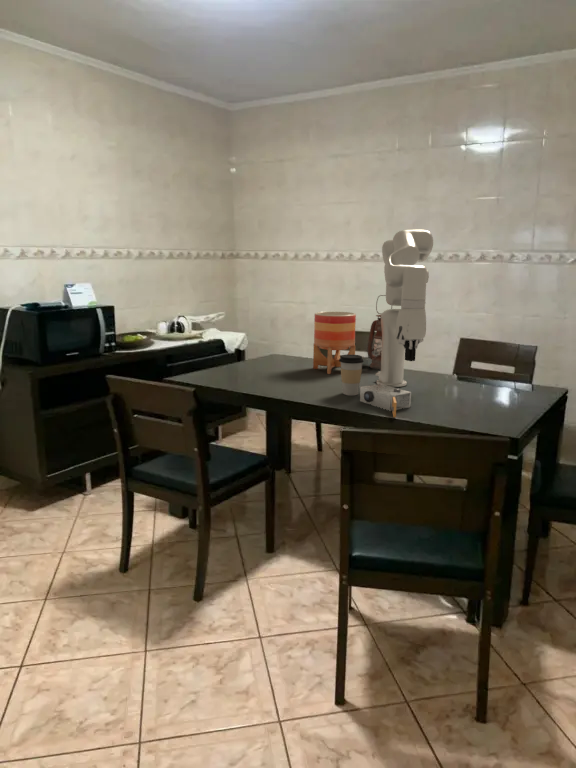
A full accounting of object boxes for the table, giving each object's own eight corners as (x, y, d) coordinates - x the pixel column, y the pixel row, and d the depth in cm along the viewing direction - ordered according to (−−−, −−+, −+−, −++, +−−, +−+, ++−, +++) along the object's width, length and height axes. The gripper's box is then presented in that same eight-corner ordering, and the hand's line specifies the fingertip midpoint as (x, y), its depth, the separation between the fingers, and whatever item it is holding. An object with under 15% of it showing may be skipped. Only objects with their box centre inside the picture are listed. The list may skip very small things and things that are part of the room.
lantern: (373, 363, 283) (376, 293, 275) (401, 367, 273) (405, 295, 265) (361, 366, 275) (363, 294, 267) (389, 371, 265) (393, 296, 257)
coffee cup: (366, 392, 222) (367, 355, 219) (356, 397, 214) (357, 359, 211) (344, 389, 227) (345, 353, 223) (334, 394, 219) (335, 356, 215)
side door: (394, 410, 196) (395, 396, 195) (396, 417, 187) (396, 402, 186) (390, 409, 196) (391, 396, 195) (392, 417, 187) (392, 402, 186)
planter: (318, 364, 279) (319, 310, 273) (358, 367, 273) (360, 312, 267) (307, 372, 260) (308, 314, 254) (349, 375, 254) (351, 316, 248)
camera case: (357, 401, 208) (358, 385, 207) (379, 397, 214) (380, 381, 213) (387, 411, 195) (388, 394, 194) (410, 407, 202) (411, 390, 200)
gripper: (420, 303, 189) (416, 356, 193) (388, 305, 181) (385, 361, 185) (437, 304, 183) (433, 360, 187) (405, 307, 175) (402, 364, 179)
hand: (409, 360), depth 186 cm, fingers closed
